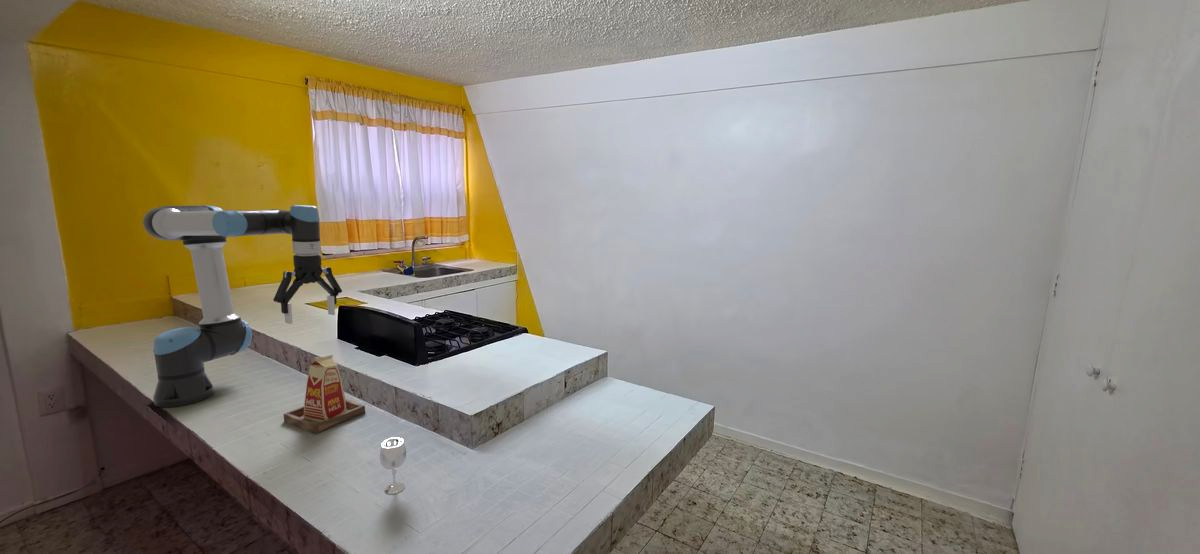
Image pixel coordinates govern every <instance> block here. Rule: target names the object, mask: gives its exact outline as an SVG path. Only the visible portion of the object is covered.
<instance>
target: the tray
mask: <svg viewBox="0 0 1200 554" xmlns="http://www.w3.org/2000/svg"><path fill="white" fill-rule="evenodd" d="M345 400H346V409H347V412H345V413H342V414H340V415H338V416H335V417H333V418H330V419H328V420H326V421H323V422H317V421H312V420H308V419H303V418H304V405H303V406H301V407H298V408H295V409H293V410H289V411H287V412H285V413H283V415H282V416H283V422H284V423H287V424H290V425H291V426H294V427H297V428H299V429H302V430H304V431H307V432H309V433H312V434H314V435H318V434H321V433H322V432H325V431H327V430H329V429H332V428H333V427H336V426H338V425H341V424H343V423H345V422H348V421H350V420H352V419H354V418H356V417H357V418H358V417H359V416H361V415H363V414H365V413H366V405H364V404H361V403H358V402H356V401H352V400H350V399H346V398H345Z"/></svg>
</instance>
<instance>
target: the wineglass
mask: <svg viewBox="0 0 1200 554" xmlns="http://www.w3.org/2000/svg"><path fill="white" fill-rule="evenodd" d="M379 451H380V452H379V461H380V464H381V466H382V467H383V468H385V469H387V470H391V474H392V481H393V482H392V483H389V485H387V486H386V487H385V488H384V493H386V494H388V495H395V494H399V493H401V492H402V491H403V490H404V489H405V487H406V486H405V484H404V482H403V483H402V482H401V481H399V482H396V475H397V474H396V473H397V469H398V468H400V467H401V466H403V464H405V462H406V459H407V449H406V445H405V442H404V439H403V438H402V437H401V438H400V437H390V438H388V439H385V440H384V441H383V442H382V443H381V446H380V450H379Z"/></svg>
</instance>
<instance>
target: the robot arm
mask: <svg viewBox="0 0 1200 554" xmlns="http://www.w3.org/2000/svg"><path fill="white" fill-rule="evenodd" d="M289 209H290V210H285V209H284V210H283V209H278V208H277V209H275V208H273V209H263V210H262V209H258V210H256V209H254V210H249V209H248V210H245V209H244V210H243V209H242V210H241V209H240V210H235V209H226V210H224V209H222V208H221V207H218V206H215V205H203V204H202V205H164V206H163V205H162V206H156V207H154V208H152V209H150V210H149V211H148V212H146V213H145V214H144V216H143V219H142V225H143V228H144V230H145V232H146V233H148V234H149V236H151V237H153V238H155V239H159V240H161V241H170V242H171V241H174V242H176V241H182V243H183V244H182V245H183V247H185V249H188V250H189V251H190V253H191V254H190V255H191V259H192V260H191V261H192V265H193V271H194V275H195V281H196V286H197V291H198V295H199V301H200V306H201V310H202V316H203V318H202V319H201V320H199V322H198V326H199V327H198V326H184V327H178V328H174V329H170V330H167V331H165V332H161V333H159V334H158V335H157V336H156V337H155V338H154V339H153V348H152V351H153V354H154V355H153V356H154V359H155V360H154V361H155V365H156V366H155V367H156V374H157V383H156V386H155V390H154V392H153V393H154V394H153V396H152V397H153V398H152V400H153V405H154V406H155V407H158V408H174V407H175V408H177V407H182V406H183V407H184V406H187V405H191V404H194V403H197V402H198V403H199V402H202V401H203V400H206V399H208V398H210V397H211V396H212V395H214V393H215V389H214V385H213V383H212V382H211V380H210V379H209V377H208V375H207V373H206V370H205V363H207V362H211V361H213V360H217V359H220V358H224V357H228V356H233V355H237V354H238V353H240V352H243V351H245V350H246V349H248V347H249V346H250V344H251V341H252V339H253V333H252V328H251V326H250V325H249V323H248V322H247V321H246V320H243V319H242V318H241V316H240V315H238V314H237V313H236V312H235V310H234V305H233V299H232V294H231V293H232V292H231V289H230V288H231V287H230V283H229V277H228V272H227V267H226V262H225V256H224V251H223V247H224V246H225V245H226V244H227V243H228V242H227V239H228V238H229V237H230V238H236V237H246V236H262V235H278V234H283V235H284V234H285V235H291V243H292V253H293V254H294V255H293V257H292V259H293V268H294V270H293V271H288V270H284V271H283V273H282V280H281V282H280V284H279V286H278V288H277V290H276V293H275V295H274V297H273V299H272V300H273V302H275V303H280V307H281V308H280V311H281V313H282V314H284V323H286V324H289V325H291V324H293V311H292V310H293V309H292V303H291V302H290V301H291V300H292V298H293V297H294V295H295V294H296V293H297V292H298V291H299V289H300V287H302V286H303V285H305V284H307V285H308V284H310V283H311V284H312V283H313V284H315V283H317V285H319V286H321V288H322V289H324V290H325V292H327V293H328V295H327V296H326V297H327V298H326V300H327V301H326V302H327V314H328V315H331V316H335V315H336V309H335V305H337V302H338V301H337V297H338V296H339V294H341V293H342V292H343V289H342V288H341V286H340V284H339V283H338V281H337V279H336V278H335V276H334V274H333V270H332V267H330V266H323V267H322V255H321V253H322V252H321V249H322V248H321V229H320V221H321V220H320V216H319V209H318V207H317V206H315V205H308V204H307V205H305V204H304V205H301V204H296V205H294V204H293V205H291V206H290V207H289ZM323 274H324V276H325V278H326V279H327V280H328V282H329V284H328V283H327V282H326V280H325V279H324V278H323V277H322V276H321V275H323ZM294 277H295V278H294ZM293 278H294V280H293V281H292V279H293ZM291 281H292V283H291ZM290 284H291V285H290Z"/></svg>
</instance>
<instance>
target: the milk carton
mask: <svg viewBox="0 0 1200 554" xmlns="http://www.w3.org/2000/svg"><path fill="white" fill-rule="evenodd" d="M333 356H334V355H333V354H330V355H326V356H314V361H313V362H312V363H311V364H310V367H309V372H308V375H307V381H306V387H305V395H304V396H305V397H304V405H303V406H304V418H303V419H308V420H312V421H317V422H323V421H326V420H328V419H330V418H333V417H335V416H338V415H340V414H342V413H345V412H347V409H346V400H345V399H346V397H345V391H344V385H343V380H342V376H341V373H340V370H339V365H338V364H337V363H336V361H335V360H334V358H333Z"/></svg>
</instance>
